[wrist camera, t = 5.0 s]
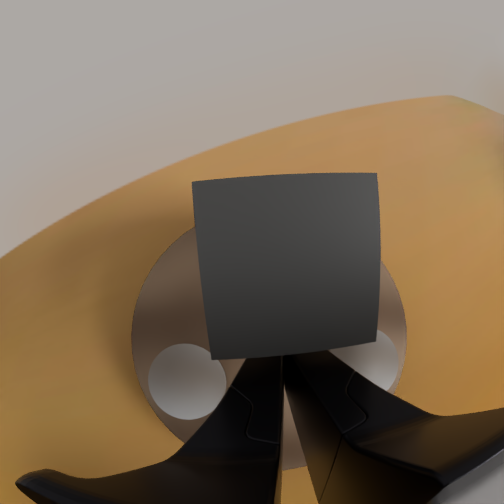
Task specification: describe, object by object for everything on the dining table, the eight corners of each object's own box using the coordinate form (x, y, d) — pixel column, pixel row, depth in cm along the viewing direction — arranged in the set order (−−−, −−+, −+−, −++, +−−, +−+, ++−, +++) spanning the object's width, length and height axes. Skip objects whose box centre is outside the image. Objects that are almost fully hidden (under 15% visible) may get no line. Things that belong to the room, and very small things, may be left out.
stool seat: (400, 432, 13) (428, 439, 10) (153, 457, 13) (129, 470, 10) (362, 220, 20) (377, 190, 16) (154, 235, 19) (136, 207, 16)
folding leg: (299, 261, 15) (375, 341, 6) (232, 267, 15) (211, 360, 6) (295, 195, 15) (376, 173, 5) (226, 199, 15) (191, 181, 5)
